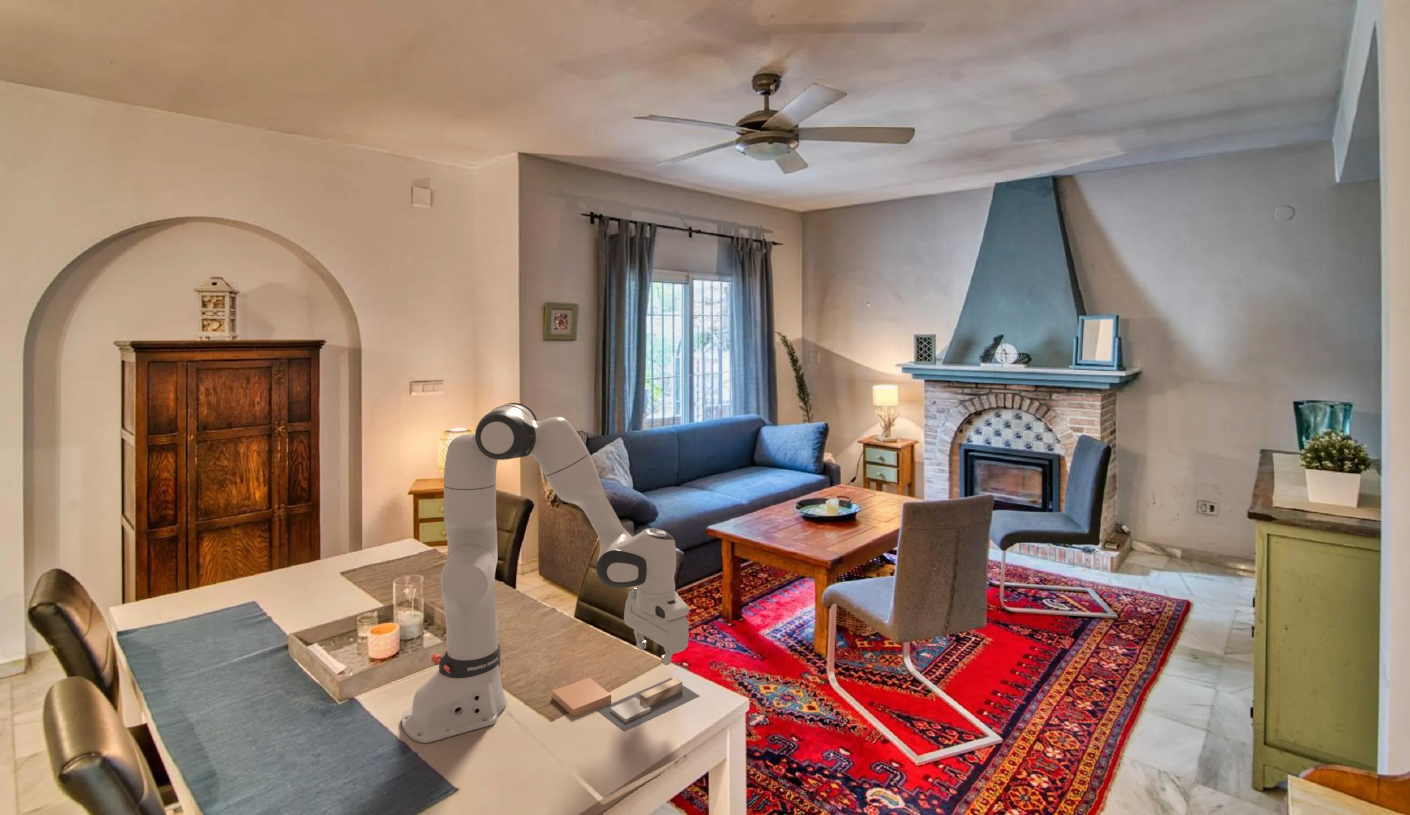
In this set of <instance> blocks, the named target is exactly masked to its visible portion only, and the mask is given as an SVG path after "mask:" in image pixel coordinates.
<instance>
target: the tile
mask: <svg viewBox="0 0 1410 815" xmlns="http://www.w3.org/2000/svg"><path fill="white" fill-rule="evenodd" d="M551 692H552V696H551V697H552V699H553V700H554V701H555V702H556V703H558V705H559V706H561V707H562V708H563V709H564V710H565V711H566V712H567V713H569V715H571V716H572V717H575V716H579V715H580V714H583V713H586V712H588V711H590V710H594V709H595V708H599V707H600V706H603V705H605V704H609V703H611V702H612V694H611V693H610V692H608V691H607V690H606V689H605V688H604V687H602V686H601V685H600V684H598V682H596V681H595V680H594V679H592V678H591V677H587V678H584V679H581V680H579V681H576V682H573V683H570V684H567V685H564V686H562V687H559V688H556V689H553V690H552V691H551Z"/></svg>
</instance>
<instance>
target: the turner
mask: <svg viewBox="0 0 1410 815" xmlns="http://www.w3.org/2000/svg"><path fill="white" fill-rule="evenodd" d="M682 685H683V681H682V680H680V679H678V678H677V677H675V678H672V680H670V681H668V682H666V683H663V684H661V685H659V686H656V687H654V688H652V689H650V690H647V691H645V692H643V693H640V700H639V699H637V698H636V697H634V698H632V699H630V700H627V701H625V702H623V703H621V704H618V705H616V706H614V707H612V708H610V711H611V712H612V713H613V714H615V715H616V716H617V717H619V718H620V719H621V720H623V721H624V722H625V723H626V722H629V721H631V720H633V719H635V718H637V717H639V716H641V715H644V714H646V713H648V712H650V711H651V708H650V707H649V706H651V705H653V704H655V703H658V702H660V701H662V700H664V699H666V698H669V697H671V696H673V695H675V694H677V693H679V692H682Z"/></svg>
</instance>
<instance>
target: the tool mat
mask: <svg viewBox="0 0 1410 815" xmlns="http://www.w3.org/2000/svg"><path fill="white" fill-rule="evenodd" d="M672 679H673V678H671V677H670V678H668V679H665V680H663V681H661V682H658V683H656V684H654V685H652V686H649V687H647V688H644V689H642V690H639V691H638V692H635V693H633V694H631V695H628V696H626V697H624V698H621V699H619V700H617V701H614V702H612V703H608V705H605V706H603V707H600V708H598V709H596V711H597V712H598V713H600V714H601V715H602V716H603V717H604V718H606V719H607V720H608V721H610V722H611V724H613V725H615V726H616V727H617V728H619V730H621V731H623V732H627V731H629V730H632V729H633V728H635V727H637V726H641V725H642V724H644V723H646V722H648V721H650V720H652V719H654V718H657V717H659V716H660V715H661V716H662V715H663V714H665V713H667V712H669V711H672V710H674V709H676V708H678V707H680V706H682V705H685V704H686V703H688V702H690V701H693V700H695V699H696V698H698V697H700V694H698V693H696V692H694V691H693V690H691V689H689V688H688V687H686V686H685V685H683V684H682V692H679V693H677V694H675V695H673V696H671V697H669V698H666V699H664V700H662V701H660V702H658V703H655V704H653V705H651V706H649V707H650V708H651V711H650V712H648V713H646V714H644V715H641V716H639V717H637V718H635V719H633V720H631V721H629V722H626V723H625V722H624V721H623V720H621V719H620V718H619V717H617V716H616V715H615V714H613V713H612V712H611V711H610V708H612V707H614V706H616V705H618V704H621V703H623V702H625V701H627V700H630V699H632V698H634V697H636V698H637V699H639V700H640V693H643V692H645V691H647V690H650V689H652V688H654V687H656V686H659V685H661V684H663V683H666V682H668V681H670V680H672Z"/></svg>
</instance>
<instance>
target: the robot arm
mask: <svg viewBox="0 0 1410 815" xmlns="http://www.w3.org/2000/svg"><path fill="white" fill-rule="evenodd" d="M537 419H538V418H537V417H536V414H535V413H534V411H533V410H532V409H531V408H530V407H528V406H527V405H525V404H522V403H519V402H518V403H517V402H509V403H506V404H503V405H499V406H497V407H495V408H493V409H492V410H491V411H489V412H488V413H487V414H485V415H484V416H483V417H482V418H481V419H480V420H479V422H478V424H477V426H476V428H475V432H474V433H468V434H461V435H459V436H456V437H455V438H453V439H452V440H451V441H450V443H449V444H448V447H447V451H446V457H445V462H444V473H443V521H444V524H445V533H446V541H447V543H446V544H447V555H446V560H445V562H444V565H443V566H442V567H443V568H442V569H441V573H440V588H441V596H442V597H441V598H442V604H443V610H444V615H445V625H446V626H445V627H446V629H445V632H446V650H445V653H444V655H443V656H441V655H440V654H439V653H433V654H432V655H431V657H430V660H431V662H432V663H433V664H434V665H436V666H438V670H437V671H436V672H435V673H434V674H433V675H432V676H431V677H430V678H429V679H428V680H427V681H426V682H425V683H424V684H422V685H421V686H420V687H419V688H418V689H416V692H415V694H414V696H413V699H412V700H413V701H412V706H411V709H408V710H405V712H404V713H403V714H402V716H401V727H402V729H403V731H404V733H406V735H407V736H408V737H410V738H411V739H412V740H414V741H416V742H419V743H422V744H428V743H432V742H436V741H440V740H443V739H446V738H450V737H453V736H456V735H460V734H464V733H467V732H472V731H474V730H478V729H482V728H486V727H489V726H492V725H494V724H496V722H497V720H498V716H499V715H500V714H501V713H502V712H503V710H505V708H506V706H507V697H506V695H505V693H504V690H503V683H502V680H501V674H500V673H501V672H500V667H501V648H500V647H501V645H500V644H499V641H498V640H499V639H498V637H499V636H498V635H499V634H498V612H497V604H496V602H497V601H496V592H495V591H496V590H495V579H496V569H497V566H498V532H497V530H498V528H497V465H498V462H499V461H504V460H505V461H507V460H513V459H517V458H518V459H519V458H525V457H528V456H531V457H533V458H534V460H535V461H536V462H537V464H538V466H539V467H540V469H541V471H542V473H543V475H544V477H545V479H546V481H547V483H548V485H549V486H550V488H551V489H552V491H553V492H554V493H555V494H556V496H557V497H558V498H559V499H560V500H561V501H562V502H565V503H568V504H573V505H576V506H578V507H579V508H580V509H581V510H582V511H583V512H584V514H585V515H586V517H587V518H588V521H589V522H590V524H591V526H592V527H593V529H594V532H595V533H596V535H597V536H598V539H599V540H598V541H599V545H600V546H599V547H600V548H599V549H600V552H599V555H598V558H597V563H596V568H595V570H596V575H597V578H598V579H599V581H600V582H601V583H602V584H603V585H604V586H606V587H608V588H610V589H615V590H616V589H617V590H618V589H627V588H630V589H629V590H628V593H627V598H626V601H625V607H624V613H623V614H624V615H623V621H624V624H625V625H626V626H628V627H629V628H631V629H633V634H634V637H635V640H636V648H637V649H639V650H641V651H643V650H645V649H646V648H647V641H646V640H645V637H646V638H648V639H649V640H651V641H653V642H655V643H656V644H657V645H660V646H661V647H663V649H664V650H663V651H664V652H665V653H664V654H663V655H661V658H660V661H661V663H662V664H663V665H665V666H668V665H670V664H671V663H672V657H673V656H674V655H673V654H678V653H680V652H682V651H685V650H687V648H688V645H689V628H690V627H689V621H688V618H687V617H686V616H688V615H689V614H690V606H689V605H688V604H687V603H686V602H685V601H684V600H683V599H682V597H681V596H680V595H679V593H678V592H677V591H676V583H675V574H676V570H677V549H676V541H675V539H674V537H673V535H671V533H669V532H667V531H665V530H663V529H660V528H653V527H651V528H645V529H643V530H642V531H641V532H640V533H638V534H634V533H633V532H632V531H631V530H629V528H627V527H626V526H625V525H624V524H623V522H622V521H621V519H620V518H619V517H618V515H617V512H616V511H615V509H614V507H613V505H612V504H611V501H610V500H609V498H608V496H607V494H606V493H605V490H604V488H603V485H602V481H601V478H600V475H599V472H598V469H597V467H596V466H597V465H596V464H595V462H594V460H593V457H592V455H591V453H590V452H589V450H588V448H587V446H586V444H585V443H584V441H583V439H582V437H581V436H580V435H579V433H578V432H577V431H576V429H575V428H574V426H573V425H572V424H571V423H570V421H569V420H567V419H566V418H565V417H562V416H552V417H548V418H547V417H546V419H543V420H539V421H538V420H537Z"/></svg>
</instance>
